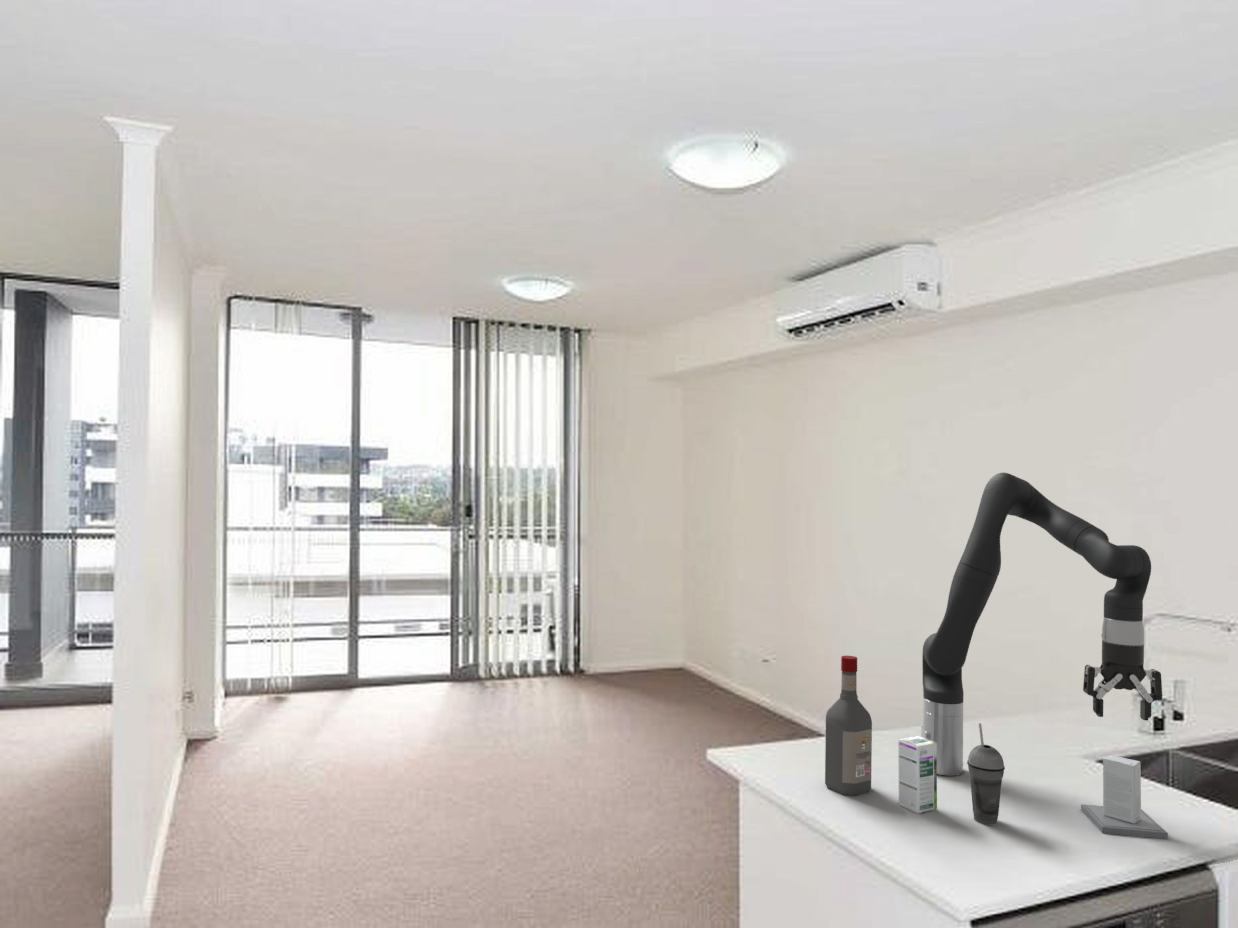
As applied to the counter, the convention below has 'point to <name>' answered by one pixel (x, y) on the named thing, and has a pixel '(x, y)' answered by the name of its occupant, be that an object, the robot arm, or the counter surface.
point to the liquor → (848, 738)
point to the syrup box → (917, 774)
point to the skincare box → (1122, 788)
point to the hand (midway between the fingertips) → (1121, 717)
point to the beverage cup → (985, 781)
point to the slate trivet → (1124, 824)
